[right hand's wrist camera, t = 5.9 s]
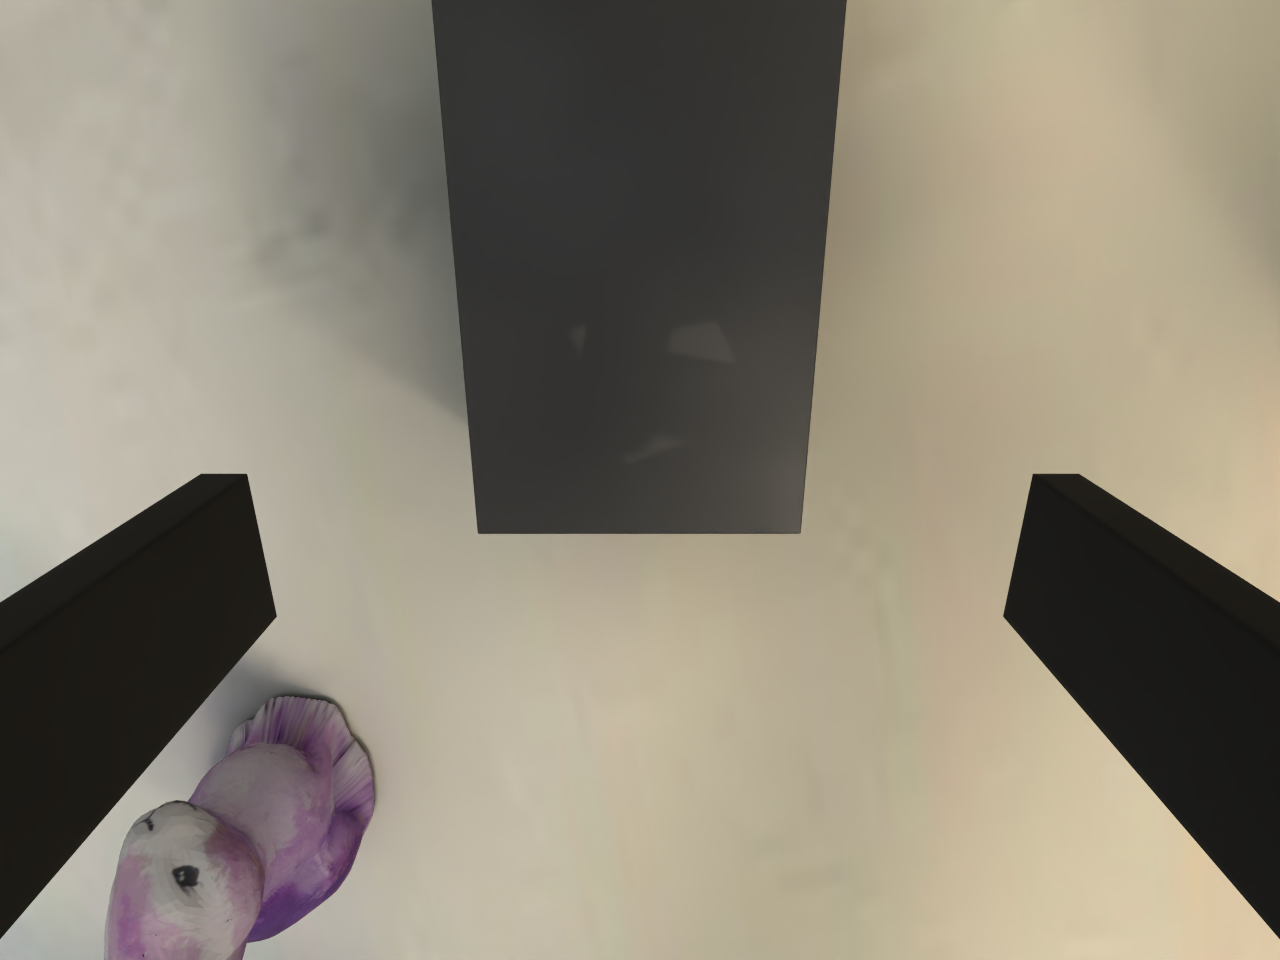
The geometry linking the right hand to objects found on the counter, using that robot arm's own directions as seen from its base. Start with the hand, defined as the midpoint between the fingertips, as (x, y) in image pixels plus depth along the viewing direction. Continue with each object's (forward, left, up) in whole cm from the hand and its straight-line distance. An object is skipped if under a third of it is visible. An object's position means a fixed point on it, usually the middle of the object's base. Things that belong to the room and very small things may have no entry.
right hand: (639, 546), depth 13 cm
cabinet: (+2, -2, -19) cm, 19 cm away
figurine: (-1, +28, -19) cm, 34 cm away
